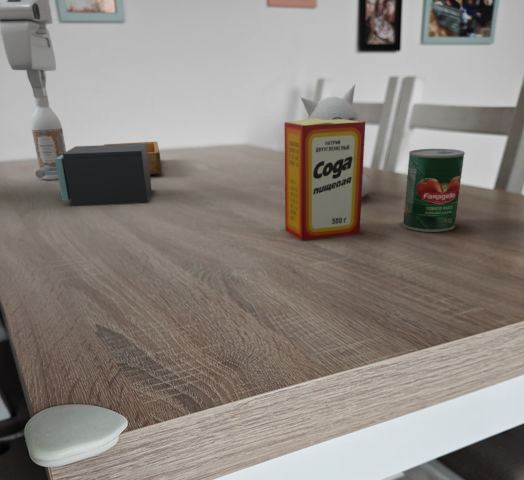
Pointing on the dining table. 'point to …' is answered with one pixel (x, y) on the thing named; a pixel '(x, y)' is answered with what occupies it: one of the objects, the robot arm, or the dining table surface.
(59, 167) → the drawer
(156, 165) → the tray
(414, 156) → the canned tomato
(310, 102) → the decorative figurine
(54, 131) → the bath foam
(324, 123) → the baking soda box
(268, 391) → the dining table surface
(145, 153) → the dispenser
